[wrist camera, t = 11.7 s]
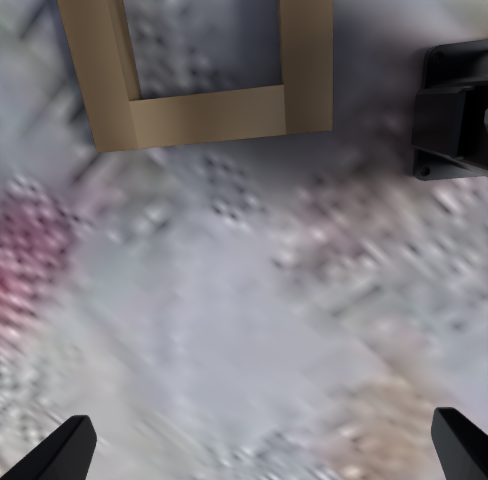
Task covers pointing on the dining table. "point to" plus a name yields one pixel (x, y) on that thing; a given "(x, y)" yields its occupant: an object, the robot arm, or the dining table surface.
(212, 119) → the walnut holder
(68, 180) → the dining table surface
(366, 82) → the dining table surface
